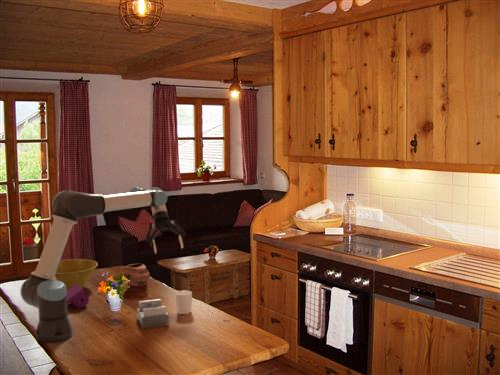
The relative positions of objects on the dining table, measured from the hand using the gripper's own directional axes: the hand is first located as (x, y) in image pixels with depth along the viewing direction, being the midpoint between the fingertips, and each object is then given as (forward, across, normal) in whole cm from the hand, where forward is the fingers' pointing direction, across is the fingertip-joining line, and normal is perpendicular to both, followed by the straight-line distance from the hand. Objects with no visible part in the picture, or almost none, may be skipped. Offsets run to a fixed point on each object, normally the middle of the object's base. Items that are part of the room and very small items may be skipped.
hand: (169, 249), depth 269 cm
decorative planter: (-2, +15, -45) cm, 47 cm away
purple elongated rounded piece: (+8, +52, -29) cm, 60 cm away
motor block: (+34, +15, -3) cm, 37 cm away
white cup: (+31, -1, -10) cm, 32 cm away
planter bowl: (-15, +50, -54) cm, 75 cm away
